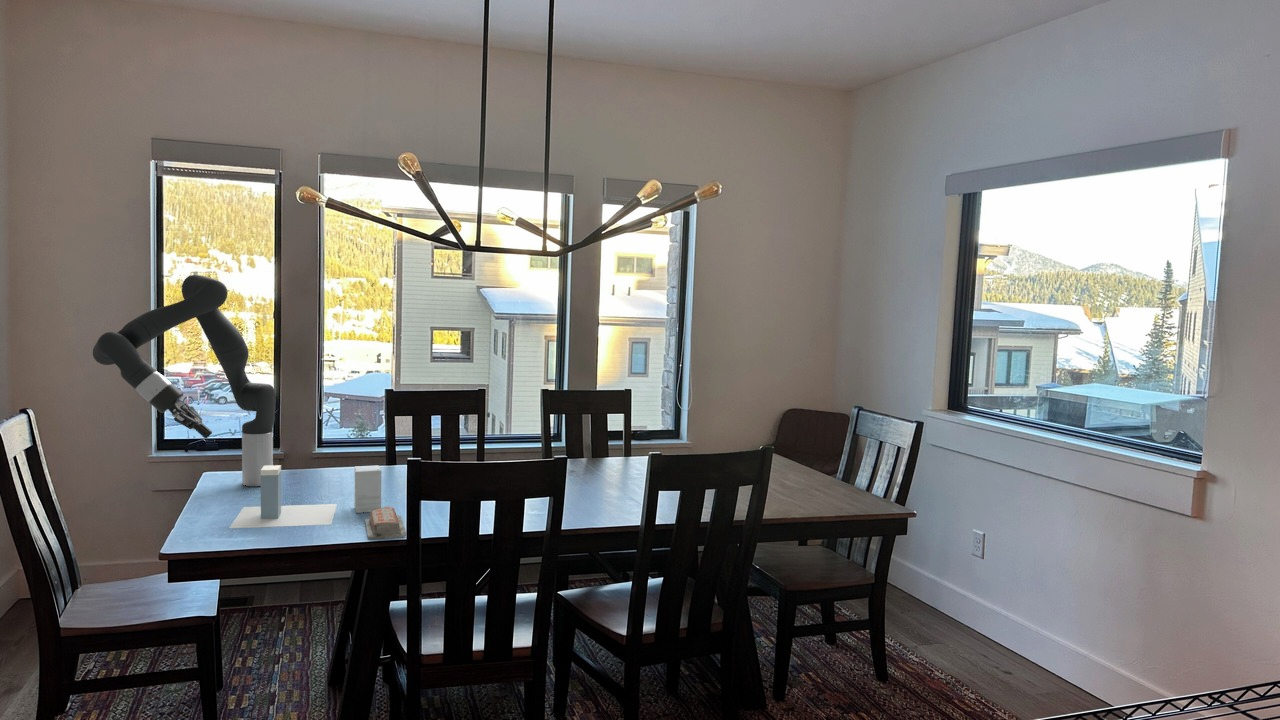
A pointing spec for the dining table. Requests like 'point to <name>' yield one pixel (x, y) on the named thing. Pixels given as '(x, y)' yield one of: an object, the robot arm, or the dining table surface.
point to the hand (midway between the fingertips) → (209, 435)
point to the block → (271, 492)
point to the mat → (287, 516)
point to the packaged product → (384, 524)
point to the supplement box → (367, 488)
